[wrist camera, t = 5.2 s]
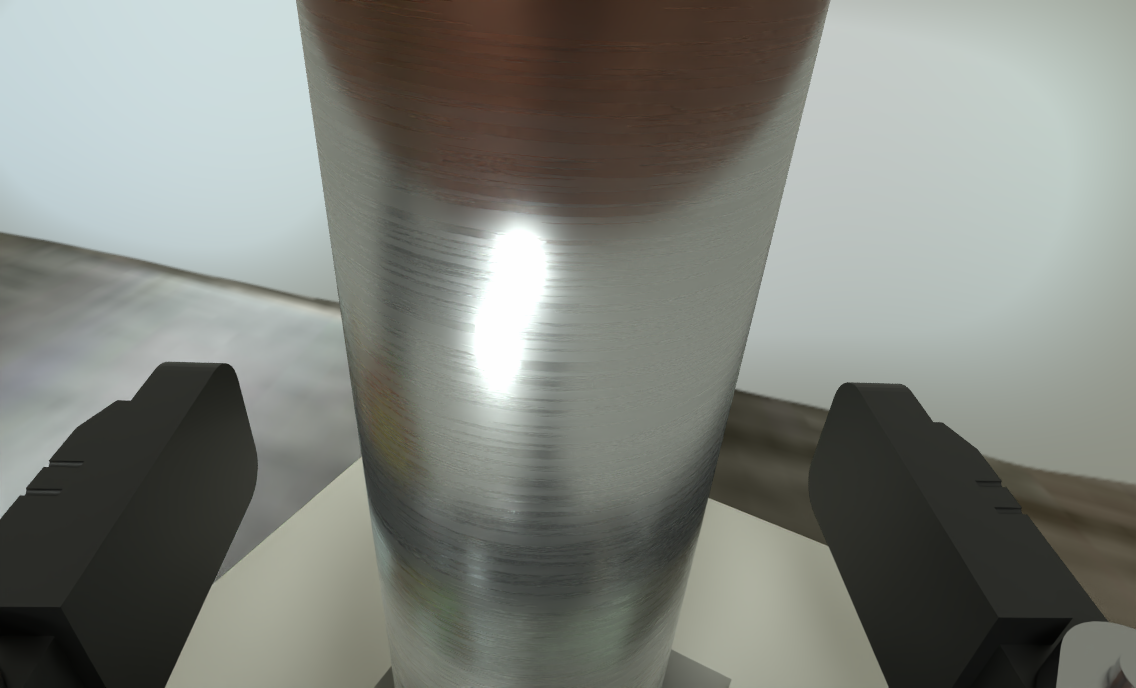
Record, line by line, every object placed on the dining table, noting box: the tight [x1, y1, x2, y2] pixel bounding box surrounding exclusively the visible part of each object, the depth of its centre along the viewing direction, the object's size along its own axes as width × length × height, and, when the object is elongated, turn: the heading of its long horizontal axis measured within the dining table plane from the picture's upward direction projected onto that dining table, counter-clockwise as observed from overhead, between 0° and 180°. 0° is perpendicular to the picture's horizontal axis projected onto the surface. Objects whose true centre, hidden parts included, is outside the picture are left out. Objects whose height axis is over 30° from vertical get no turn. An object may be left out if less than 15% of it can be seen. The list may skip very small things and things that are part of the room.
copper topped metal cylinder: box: [296, 0, 830, 688], centre depth 9 cm, size 7×7×17 cm
